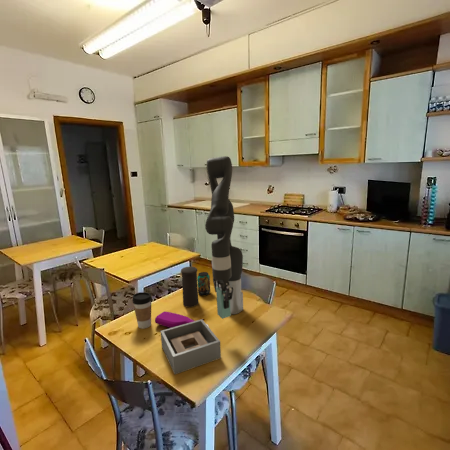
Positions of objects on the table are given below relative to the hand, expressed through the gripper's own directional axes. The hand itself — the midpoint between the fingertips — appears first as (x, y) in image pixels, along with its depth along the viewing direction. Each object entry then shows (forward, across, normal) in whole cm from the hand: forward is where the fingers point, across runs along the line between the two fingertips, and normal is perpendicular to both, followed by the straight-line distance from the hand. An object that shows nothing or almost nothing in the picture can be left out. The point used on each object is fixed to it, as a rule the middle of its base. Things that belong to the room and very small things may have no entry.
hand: (223, 305), depth 114 cm
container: (+16, +37, +1) cm, 40 cm away
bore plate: (+15, 0, +16) cm, 22 cm away
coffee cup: (+15, +29, +27) cm, 42 cm away
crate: (+15, 0, +16) cm, 22 cm away
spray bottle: (+15, +19, +12) cm, 27 cm away
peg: (+4, 0, 0) cm, 4 cm away
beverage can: (+16, +45, -10) cm, 49 cm away
